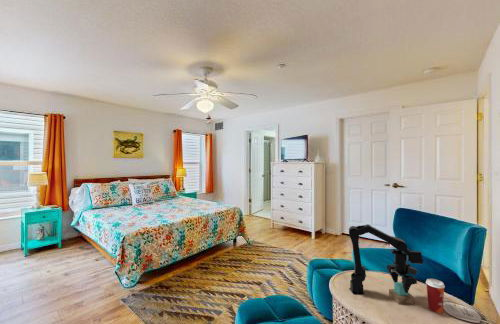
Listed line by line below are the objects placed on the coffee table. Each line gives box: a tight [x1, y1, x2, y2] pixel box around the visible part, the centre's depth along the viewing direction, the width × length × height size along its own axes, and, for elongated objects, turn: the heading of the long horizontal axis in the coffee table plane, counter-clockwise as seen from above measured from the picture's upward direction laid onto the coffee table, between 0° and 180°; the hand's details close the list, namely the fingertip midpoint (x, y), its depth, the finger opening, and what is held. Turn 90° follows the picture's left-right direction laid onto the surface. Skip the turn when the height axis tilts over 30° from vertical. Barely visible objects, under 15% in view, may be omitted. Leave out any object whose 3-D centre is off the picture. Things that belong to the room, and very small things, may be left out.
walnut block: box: [388, 288, 415, 305], centre depth 137 cm, size 9×9×4 cm
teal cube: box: [393, 281, 409, 295], centre depth 137 cm, size 5×5×5 cm
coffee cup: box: [425, 278, 446, 314], centre depth 127 cm, size 8×8×15 cm
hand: (401, 288), depth 137 cm, fingers open, 9 cm apart
